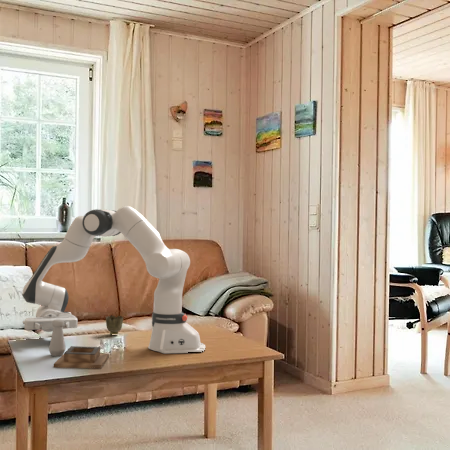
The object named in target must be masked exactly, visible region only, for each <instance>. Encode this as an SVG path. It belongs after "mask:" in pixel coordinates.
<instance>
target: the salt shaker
mask: <svg viewBox="0 0 450 450" xmlns="http://www.w3.org/2000/svg"><path fill="white" fill-rule="evenodd" d="M52 326H53V327H54V328H53V331H52V332H51V333H52V334H51V338H50V343H49V347H48V351H49V353H50V355H51V356H52V357H61V356H62V355H63V354H64V353H65V352H66V342H65V336H64V329H63V328H62V327H63V326H64V321H63V320H61V319H56V320H53V321H52Z"/></svg>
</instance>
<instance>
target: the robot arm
mask: <svg viewBox="0 0 450 450" xmlns="http://www.w3.org/2000/svg"><path fill="white" fill-rule="evenodd" d="M120 234H122V235H123V236H124V237H125V238H126V239H127V241H128V242H129V243H130V244H131V246H133V247H134V248H135V249H136V251H137V252H138V253H139V254H140V256H141V258H142V259H143V262H144V263H145V267H146V271H147V273H148V274H149V275H150V276H152V277H153V278H156V279H158V283H157V286H156V288H155V289H154V292H153V311H152V313H151V314H152V315H151V326H152V328H151V329H152V330H151V335H150V340H149V344H148V349H149V350H151V351H154V352H158V353H161V354H189V353H188V352H201V353H203V352H205V351H206V349H205V348H206V344H204V343H203V342H201V338H200V337H201V336H200V333H199V332H198V331H197V330H196V329H195V328H194V327H193V326H192V325H190V324H189V323H188V322H187V321H188V316H187V314H186V313H184V312H183V311H182V309H183V308H182V305H183V292H184V286H185V282H186V281H185V280H186V278H187V272H188V270H189V268H190V266H191V258H190V256H189V254H188V253H187V252H185V251H184V250H181V249H178V248H168V247H167V245H166V244H165V243H164V241H163V239H162V236H161V234H160V232H159V231H158V229H156V228H155V227H154V225H152V224H151V223H150V221H149V220H148V219H147V218H146V217H145V216H144V215H143V214H142V213H141V212H139V211H138V210H137V209H135V208H133V207H132V206H130V205H124V206H122V207H120V208H118V210H110V209H105V208H104V209H102V208H101V209H99V208H96V209H90V210H89V211H88V212H86V213H85V214H84V215H79V216H77V217H75V218H74V219H73V221H72V223H71V224H70V226H69V228H68V229H67V231H66V234H65V235H64V238H63V240H62V241H61V242H60V243H59V244H57V245H54V246H51V248H50V249H49V250H48V251H47V253H46V254H45V255H44V257H43V258H42V261H40V263H39V265H38V266H37V268H36V269H35V271H34V272H33V274H32V275H31V277H30V278H29V279H28V281H27V282H26V283H25V285H24V287H23V288H22V294H21V295H22V298H23V299H24V301H25V302H26V303H27V304H28V303H29V304H33V305H39V306H40V307H38V308H37V310H36V312H35V317H26V318H25V319H24V320H23V321H22V324H23V325H24V330H26V331H31V330H38V331H39V330H42V331H44V332H45V333H52V332H53V328H54V327H53V326H52V321H53V320H56V319H61V320H63V321H64V326H63V327H62V328H63V330H64V329H76V328H78V323H79V321H78V317H77V316H75V315H74V314H72V312H70V311H66V309H67V306H68V303H69V299H70V298H69V297H70V296H69V292H68V290H67V289H66V288H65V287H63V286H61V285H57V284H53V283H49V282H46V281H43V279H44V278H45V277H46V274H47V273H48V272H49V270H50V269H51V267H52V266H54V265H57V264H62V263H75V262H79V261H81V260H83V259H84V258H85V257H86V255H87V254H88V252H89V250H90V248H91V245H92V243H93V242H94V238H95V237H104V238H105V237H111V236H112V237H114V236H119V235H120ZM204 350H205V351H204ZM202 351H203V352H202Z"/></svg>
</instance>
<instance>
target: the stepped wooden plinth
mask: <svg viewBox="0 0 450 450" xmlns="http://www.w3.org/2000/svg"><path fill="white" fill-rule="evenodd" d="M109 357H110V353H101V346H77V345H75V346H73V345H71V346H69V348H67V350H65V352H64V353H63V355H62V356H59V358H58V359H57V360H56V361H55V362H54V363H53V368H55V369H56V368H57V369H58V368H60V369H62V368H63V369H64V368H66V369H67V368H68V369H100V370H101V369H102V368H103V367H104V366H105V364H106V362H107V361H108V359H109Z"/></svg>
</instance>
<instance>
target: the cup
mask: <svg viewBox="0 0 450 450" xmlns="http://www.w3.org/2000/svg"><path fill="white" fill-rule="evenodd" d="M123 321H124V316H122V315H117V316H116V315H110V316H109V315H108V316H105V323H106V324H105V325H106V329H107V331H108V332H109V335H110V336H112V334H118V335H119V332H120V331H121V329H122V327H123Z"/></svg>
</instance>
